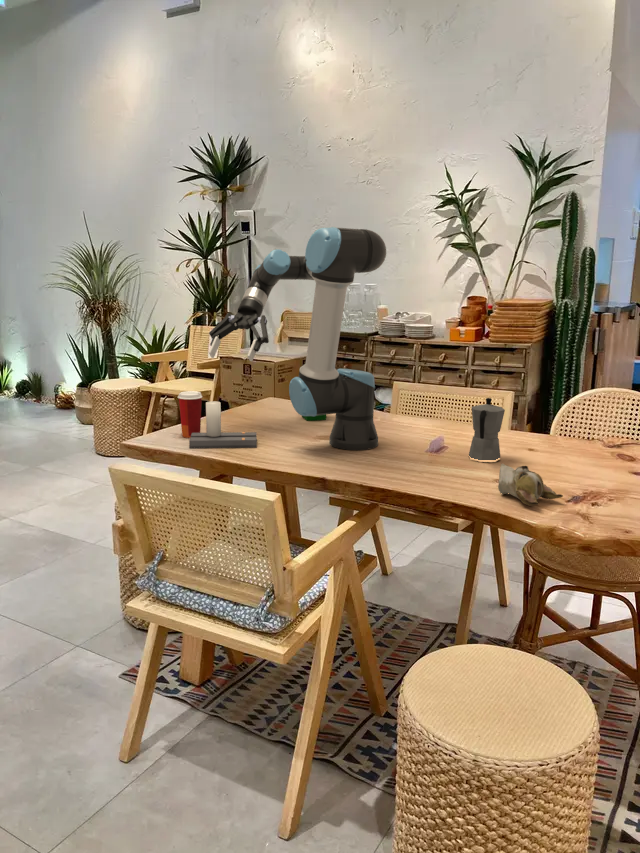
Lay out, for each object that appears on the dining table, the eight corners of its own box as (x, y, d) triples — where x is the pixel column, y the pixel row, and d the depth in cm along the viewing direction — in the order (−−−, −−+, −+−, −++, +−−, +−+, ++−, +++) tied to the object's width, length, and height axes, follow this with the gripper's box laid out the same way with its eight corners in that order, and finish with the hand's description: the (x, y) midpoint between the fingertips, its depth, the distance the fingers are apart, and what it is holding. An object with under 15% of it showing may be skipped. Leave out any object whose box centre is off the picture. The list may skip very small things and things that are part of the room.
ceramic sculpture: (516, 454, 169) (568, 472, 157) (512, 486, 171) (562, 507, 160) (487, 460, 163) (539, 480, 151) (483, 494, 165) (534, 516, 154)
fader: (221, 439, 210) (220, 401, 207) (220, 442, 205) (220, 404, 203) (207, 439, 209) (206, 401, 207) (206, 443, 205) (205, 404, 202)
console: (256, 439, 214) (256, 431, 213) (256, 447, 204) (256, 439, 203) (192, 440, 212) (191, 432, 211) (189, 448, 202) (189, 440, 201)
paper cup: (206, 433, 220) (205, 391, 217) (199, 439, 213) (198, 395, 210) (182, 432, 221) (181, 390, 218) (175, 438, 214) (174, 394, 210)
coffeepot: (472, 451, 204) (476, 392, 200) (504, 455, 200) (509, 395, 196) (461, 464, 190) (465, 401, 186) (495, 468, 187) (500, 404, 183)
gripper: (290, 314, 219) (270, 367, 209) (222, 310, 227) (200, 361, 217) (284, 299, 212) (262, 352, 203) (214, 295, 221) (190, 346, 211)
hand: (230, 357), depth 210 cm, fingers open, 13 cm apart
